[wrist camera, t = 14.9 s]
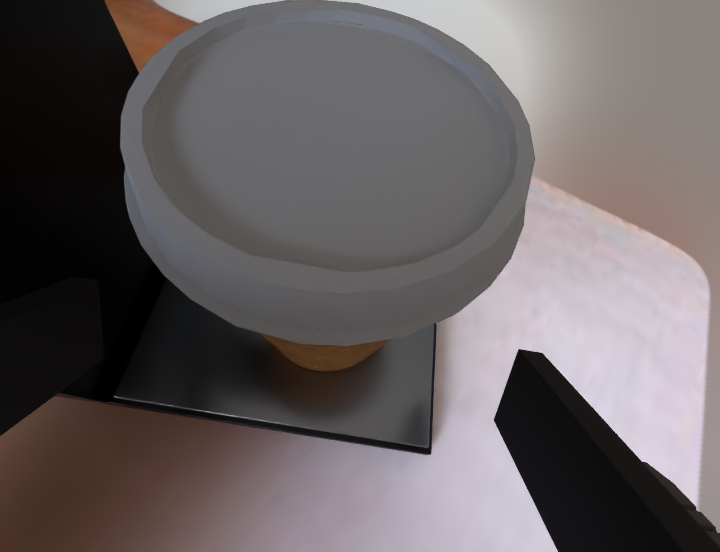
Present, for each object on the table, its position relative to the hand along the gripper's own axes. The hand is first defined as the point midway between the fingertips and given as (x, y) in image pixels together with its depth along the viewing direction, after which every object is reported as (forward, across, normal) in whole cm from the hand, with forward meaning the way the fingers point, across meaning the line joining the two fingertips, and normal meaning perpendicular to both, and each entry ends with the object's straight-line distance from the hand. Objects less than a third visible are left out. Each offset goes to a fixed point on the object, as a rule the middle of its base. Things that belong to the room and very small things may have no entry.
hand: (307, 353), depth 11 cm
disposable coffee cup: (+7, 0, -2) cm, 7 cm away
